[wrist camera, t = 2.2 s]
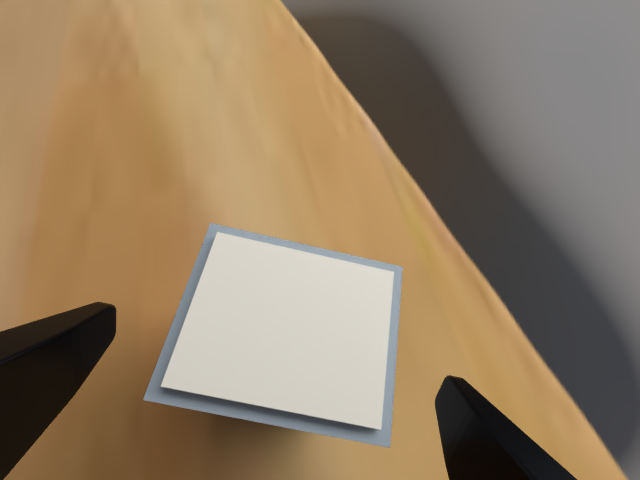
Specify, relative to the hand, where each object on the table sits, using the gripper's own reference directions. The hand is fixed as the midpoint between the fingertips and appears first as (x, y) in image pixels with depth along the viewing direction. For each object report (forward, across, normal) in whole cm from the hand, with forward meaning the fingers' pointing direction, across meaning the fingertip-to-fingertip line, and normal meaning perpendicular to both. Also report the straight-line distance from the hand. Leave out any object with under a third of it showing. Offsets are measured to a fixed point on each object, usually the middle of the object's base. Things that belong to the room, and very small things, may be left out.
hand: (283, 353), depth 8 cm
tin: (+6, 0, +6) cm, 8 cm away
